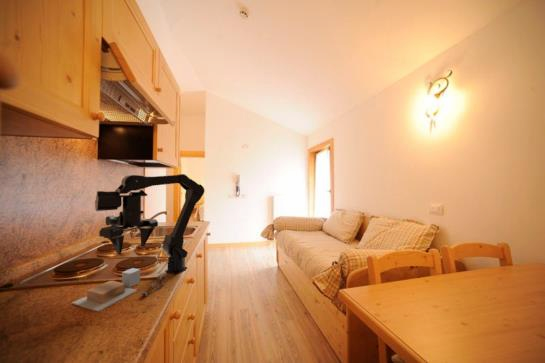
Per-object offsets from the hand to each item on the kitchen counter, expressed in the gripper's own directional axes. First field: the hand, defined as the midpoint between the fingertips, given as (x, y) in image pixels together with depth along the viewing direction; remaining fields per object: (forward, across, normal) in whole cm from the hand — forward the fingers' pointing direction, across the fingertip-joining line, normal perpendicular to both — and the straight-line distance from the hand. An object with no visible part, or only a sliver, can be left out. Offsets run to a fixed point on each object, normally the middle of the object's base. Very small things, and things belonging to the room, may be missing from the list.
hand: (131, 250), depth 75 cm
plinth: (+12, +9, 0) cm, 15 cm away
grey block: (+13, 0, 0) cm, 13 cm away
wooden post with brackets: (+13, +1, +12) cm, 18 cm away
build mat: (+13, +9, 0) cm, 16 cm away
